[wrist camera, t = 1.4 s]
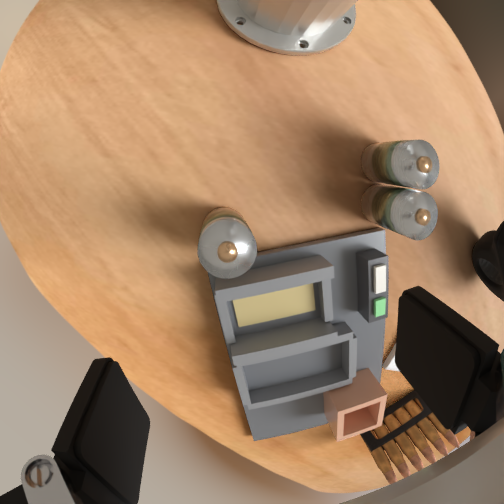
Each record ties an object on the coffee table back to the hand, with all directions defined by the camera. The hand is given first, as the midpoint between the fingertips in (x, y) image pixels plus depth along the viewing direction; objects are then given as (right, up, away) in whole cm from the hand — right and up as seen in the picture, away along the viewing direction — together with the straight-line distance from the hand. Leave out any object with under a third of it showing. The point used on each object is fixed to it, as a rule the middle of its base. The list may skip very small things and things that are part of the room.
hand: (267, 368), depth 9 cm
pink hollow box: (+10, -12, +21) cm, 27 cm away
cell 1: (-3, +5, +16) cm, 17 cm away
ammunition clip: (+19, -18, +25) cm, 37 cm away
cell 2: (+11, +12, +15) cm, 22 cm away
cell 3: (+11, +8, +17) cm, 21 cm away
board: (+5, -7, +20) cm, 22 cm away
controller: (+27, +4, +20) cm, 34 cm away
